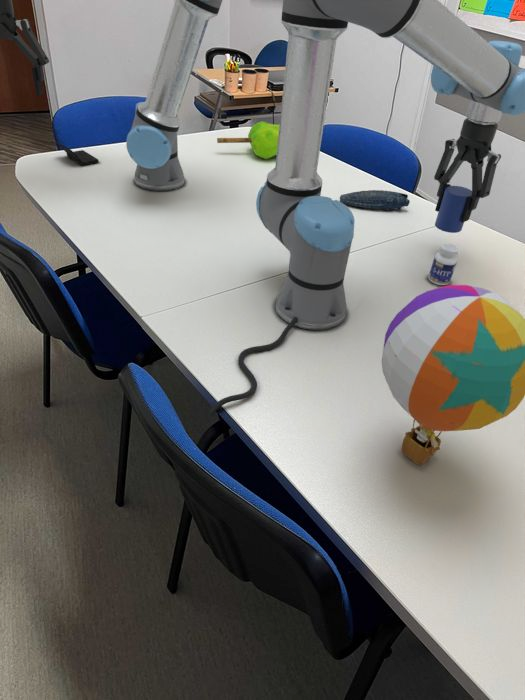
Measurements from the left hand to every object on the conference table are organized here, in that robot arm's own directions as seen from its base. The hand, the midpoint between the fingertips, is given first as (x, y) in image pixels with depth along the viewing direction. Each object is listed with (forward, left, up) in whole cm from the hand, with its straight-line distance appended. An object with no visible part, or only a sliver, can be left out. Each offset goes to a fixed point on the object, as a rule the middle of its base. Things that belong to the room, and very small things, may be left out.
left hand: (13, 92), depth 133 cm
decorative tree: (-49, +63, -26) cm, 84 cm away
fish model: (-10, +100, -26) cm, 104 cm away
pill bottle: (+32, +111, -26) cm, 118 cm away
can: (+17, +115, -19) cm, 117 cm away
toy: (+88, +94, -26) cm, 132 cm away
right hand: (+17, +114, -16) cm, 117 cm away
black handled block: (-28, +4, -26) cm, 39 cm away
